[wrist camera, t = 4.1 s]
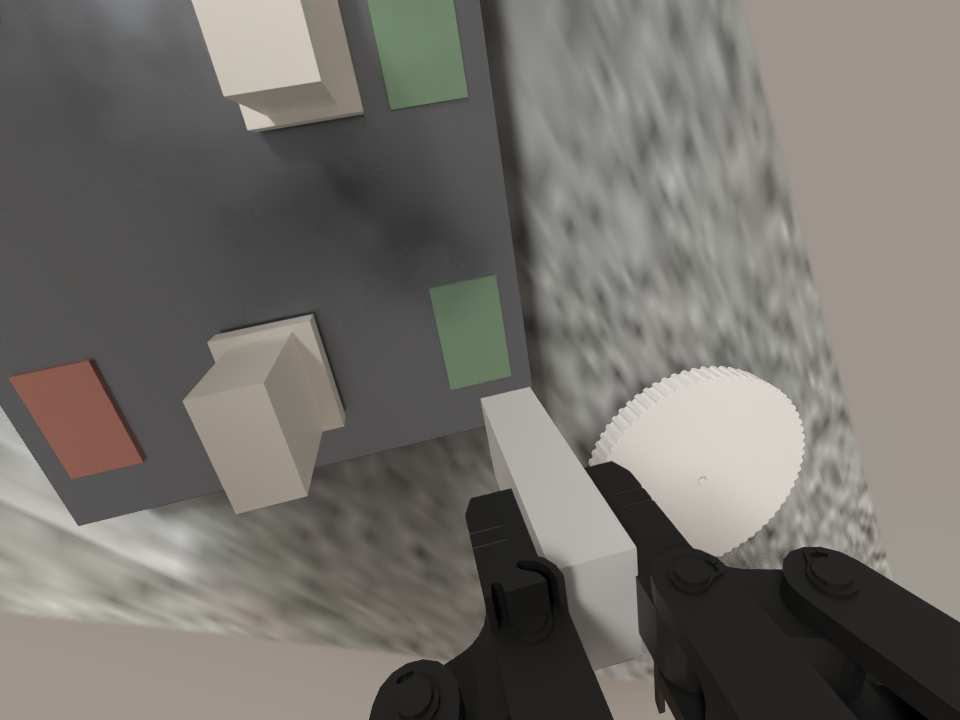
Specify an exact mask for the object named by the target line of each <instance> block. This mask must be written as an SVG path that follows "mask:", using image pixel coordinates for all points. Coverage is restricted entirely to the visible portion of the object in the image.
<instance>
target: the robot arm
mask: <svg viewBox="0 0 960 720" xmlns="http://www.w3.org/2000/svg"><path fill="white" fill-rule="evenodd" d="M480 399H481V405H482V410H483V415H484V421H485V426H486V431H487V437H488V442H489V447H490V452H491V458H492V463H493V468H494V474H495V477H496V480H497V483H498V486H499V488H500V491H498V492H494V493H490V494H487V495H483V496H479V497H475V498H471V499H470V502H469V505H468V508H467V511H466V515H465V516H466V521H467V525H468V530H469V534H470V539H471V543H472V547H473V552H474V556H475V561H476V565H477V570H478V574H479V578H480V583H481V587H482V592H483V596H484V601H485V606H486V617H485V623H484V626H483V628H482V630H481V632H480V635H479V636H478V637H477V639H476V640H475V641H474V643H473V644H472V645H471V646H470V647H469V648H467V649H466V650H465V651H464V652H463V653H461V654H460V655H458V656H457V657H455V658H454V659H452V660H451V661H449V662H448V663H446V664H445V665H443V664H441V663H440V662H438V661H431V660H424V659H422V660H419V661H414V662H411V663H407V664H405V665H404V666H402V667H401V668H399V669H398V670H396V671H395V672H393V673H392V674H391V675H390V676H389V677H388V679H387V680H386V681H385V682H384V683H383V685H382V686H381V687H380V689H379V691H378V694H377V696H376V698H375V701H374V703H373V706H372V710H371V714H370V718H369V720H614V719H613V717H612V714H611V712H610V710H609V707H608V705H607V702H606V700H605V698H604V696H603V693H602V691H601V688H600V686H599V683H598V681H597V678H596V676H595V674H594V671H595V670H598V669H602V668H605V667H608V666H612V665H615V664H618V663H621V662H625V661H628V660H631V659H635V658H638V657H641V656H642V644H641V638H642V639H643V641H644V643H645V645H646V647H647V649H648V650H649V652H650V654H651V656H652V658H653V660H654V682H655V701H656V704H657V708H658V711H659V713H663V712H665V700H666V702H667V704H668V706H669V708H670V710H671V712H672V714H673V716H674V717H675V719H676V720H960V622H958V621H957V620H955V619H953V618H952V617H950V616H948V615H947V614H945V613H943V612H942V611H940V610H939V609H937V608H935V607H934V606H932V605H930V604H929V603H927V602H925V601H924V600H922V599H920V598H919V597H917V596H916V595H914V594H912V593H911V592H909V591H907V590H906V589H904V588H902V587H901V586H899V585H897V584H896V583H894V582H893V581H891V580H889V579H888V578H886V577H884V576H883V575H881V574H879V573H878V572H876V571H874V570H873V569H871V568H869V567H868V566H866V565H865V564H863V563H861V562H860V561H858V560H856V559H854V558H852V557H850V556H848V555H845V554H843V553H841V552H839V551H835V550H831V549H826V548H822V547H803V548H800V549H797V550H794V551H791V552H790V553H789V554H788V555H787V556H786V557H785V558H784V560H783V569H782V570H771V569H739V568H731V567H727V566H726V565H725V564H723V563H722V562H721V561H720V560H719V559H718V558H716V557H715V556H713V555H711V554H709V553H706V552H704V551H702V550H699V549H694V548H693V547H692V546H691V545H690V544H689V543H688V542H687V540H686V539H685V538H684V537H683V536H682V534H681V533H680V532H679V531H678V529H677V528H676V527H675V526H674V524H673V523H672V522H671V521H670V520H669V518H668V517H667V516H666V515H665V513H664V512H663V511H662V510H661V509H660V507H659V506H658V505H657V504H656V502H655V501H654V500H653V501H652V498H651V496H650V495H649V494H648V493H647V491H646V490H645V489H644V488H642V485H641V484H640V483H639V481H638V480H637V479H636V478H635V477H634V475H633V474H632V473H631V472H630V471H629V470H627V469H625V468H624V467H622V466H620V465H618V464H617V463H615V462H613V461H610V462H606V463H602V464H598V465H594V466H590V467H586V468H583V466H582V465H581V463H580V462H579V460H578V459H577V457H576V456H575V454H574V453H573V451H572V450H571V448H570V447H569V445H568V444H567V442H566V441H565V439H564V438H563V436H562V435H561V433H560V432H559V430H558V429H557V427H556V426H555V424H554V423H553V421H552V420H551V418H550V417H549V415H548V414H547V412H546V411H545V409H544V408H543V406H542V405H541V403H540V402H539V400H538V399H537V397H536V396H535V394H534V393H533V391H532V390H531V388H530V387H527V388H523V389H519V390H514V391H510V392H506V393H502V394H497V395H493V396H489V397H485V398H480Z"/></svg>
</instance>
